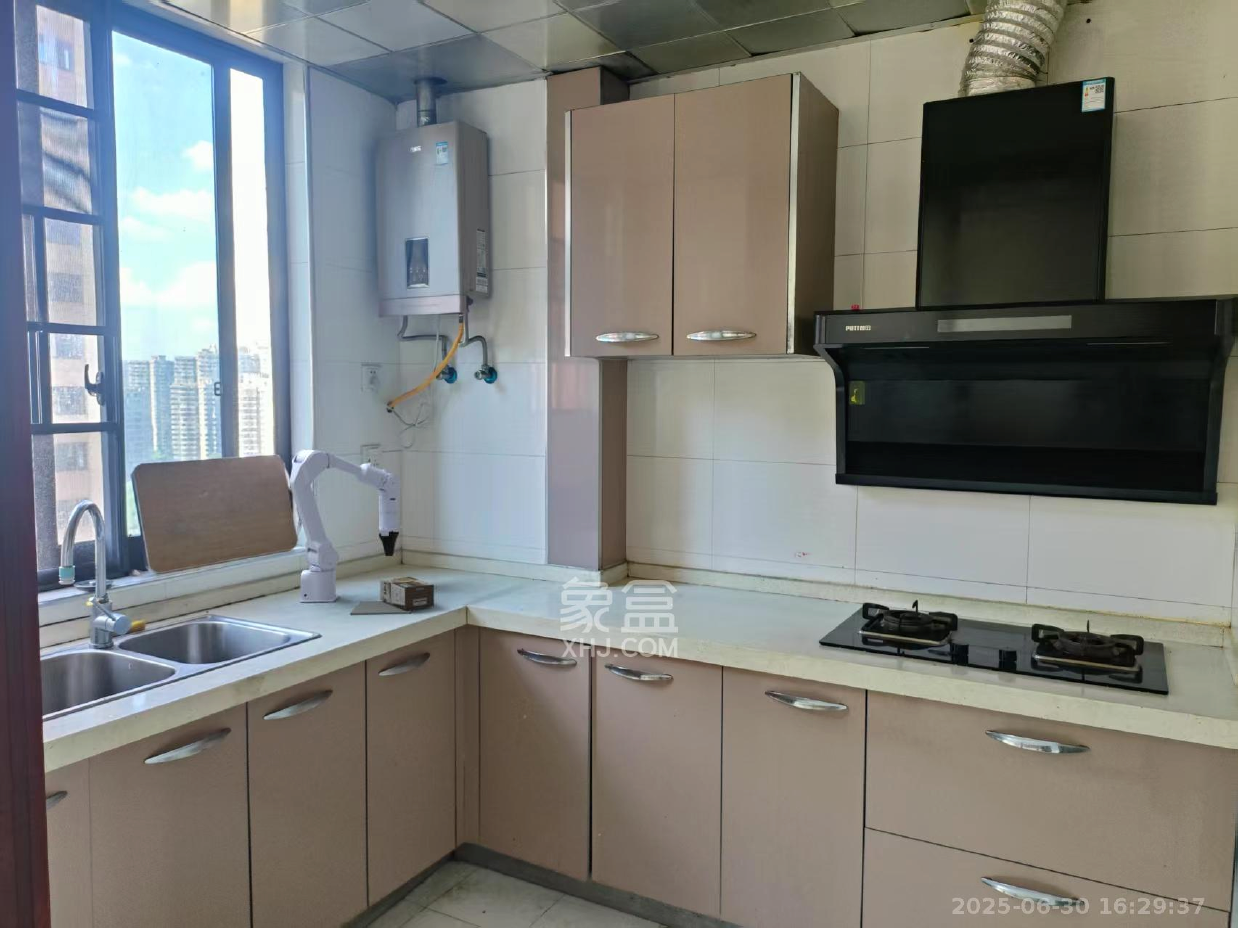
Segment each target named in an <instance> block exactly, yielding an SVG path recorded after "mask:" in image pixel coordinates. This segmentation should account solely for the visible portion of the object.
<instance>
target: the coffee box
mask: <svg viewBox="0 0 1238 928" xmlns="http://www.w3.org/2000/svg"><path fill="white" fill-rule="evenodd" d="M379 582H380V590H379V592H380V593H379V595H380V596H379V597H380V598H379V599H380V601H384V602H387V603H389V604H392V605H394V606H396V607H399V608H401V609H403V610H412V609H413V610H417V609H423V608H424V609H425V608H430V607H434V606H435V585H434V584H433V583H430V582H427V581H424V580H421V579H418V578H415V577H412V576H410V575H409V576H407V575H406V576H399V577H389V578H381V579H380V580H379ZM413 610H412V611H413Z"/></svg>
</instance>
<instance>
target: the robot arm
mask: <svg viewBox="0 0 1238 928" xmlns="http://www.w3.org/2000/svg"><path fill="white" fill-rule="evenodd" d="M291 462H292V468H291V473H290V478H289V486H290V490H291V492H292V496H293V499H294V501H295V505H296V508H297V511H298V515H299V518H300V521H301V524H302V528H303V531H304V534H305V537H306V542H305V545H304V546H305V551H306V552H305V560H306V562H307V563H308V564H309V568H308V569H303V570H302V572H301V574H300V603H317V602H318V603H321V602H322V603H323V602H324V603H326V602H327V603H328V602H329V603H331V602H335V601H336V600H337V599H338V598H339V597H340V596H341V594H339V593H337V585H336V584H337V583H336V581H337V579H336V578H337V577H336V566H337V565H338V564H339V562H340V555H339V553H338V551H337V550H336V549H335V548H334V547H333V543H332V542H331V541H330V539H329V538H328V537H327V535H326V532H325V528H324V525H323V522H322V519H321V515H320V512H319V508H318V506H317V501H316V498H315V495H314V492H313V489H312V484H313V482H314V481H315V479H316V478H317V477H318V476H319V475H320V474H321V473H323V472H324V471H325V470H326V469H328V470H329V469H333V468H334V469H336V470H339V471H341V472H345V473H347V474H350V475H354V477H355V478H356V480H357V481H358V483H363V484H365V485H368V486H370V487H373V488H375V489H376V490H377V491H378V512H379V513H378V520H379V521H378V522H379V523H378V525H379V526H378V530H379V531H380V532H379V533H378V538H379V539H380V541H381V544H382V548H383V552H384V554H385V555H384V556H385V557H393V556H394V553H395V548H396V543H397V540H398V537H399V535H400V532H399V531H396V530H399V529H400V530H402V529H403V525H399V491H400V489H401V488H402V482H401V480H400V477H399V476H398V475H397V474H395V473H388V472H387V471H388V470H387V469H380V468H377V467H375V466H374V464H373V463H370V462H369V463H368V462H367V463H363V464H361V465H359V464H357V463H354V462H352V461H351V460H347V459H345V458H343V457H341V456H338V455H337V454H334V453H331V452H325V451H324V450H320V449H319V450H317V449H316V450H313V449H307V448H303V449H301V450H299V451H298V452H297V453H296V455H294V457H293V458H292V460H291Z"/></svg>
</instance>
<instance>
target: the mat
mask: <svg viewBox="0 0 1238 928" xmlns="http://www.w3.org/2000/svg"><path fill="white" fill-rule="evenodd" d="M413 610H414V609H412V610H403V609H401V608H399V607H396V606H394V605H392V604H389V603H387V602H384V601H382V600H379V601H378V600H377V601H376V600H374V601H372V600H371V601H368V600H367V601H360V602H359V603H358V604H357V605H356V606H355V607H354V608H353V610H352V611H350V613H349V615H350V616H353V615H354V616H359V615H362V616H363V615H365V616H368V615H409V614H410V615H411V614H412V611H413Z"/></svg>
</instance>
